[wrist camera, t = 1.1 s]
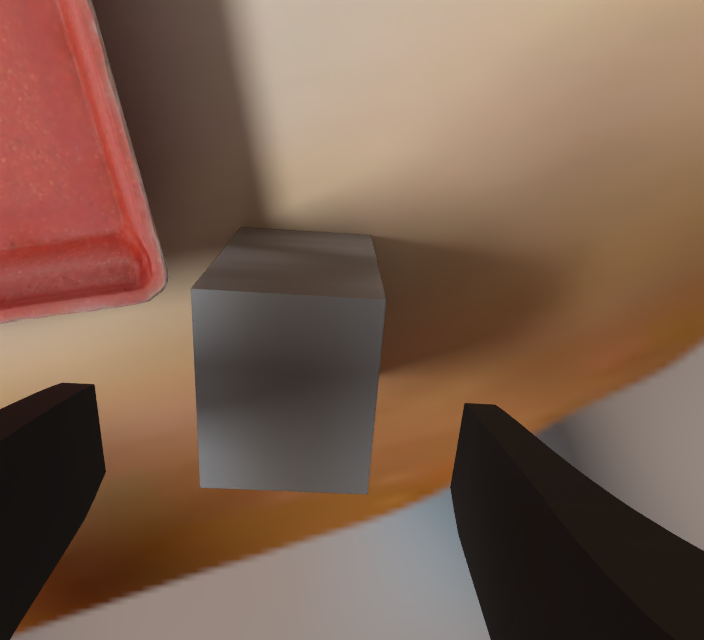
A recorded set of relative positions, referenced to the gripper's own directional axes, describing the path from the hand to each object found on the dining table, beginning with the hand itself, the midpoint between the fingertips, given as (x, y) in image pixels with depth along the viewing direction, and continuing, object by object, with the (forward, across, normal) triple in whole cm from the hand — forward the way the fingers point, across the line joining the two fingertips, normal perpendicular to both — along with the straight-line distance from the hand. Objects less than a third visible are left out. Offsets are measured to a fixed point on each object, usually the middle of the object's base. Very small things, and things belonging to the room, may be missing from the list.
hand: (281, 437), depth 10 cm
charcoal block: (+8, 0, 0) cm, 8 cm away
